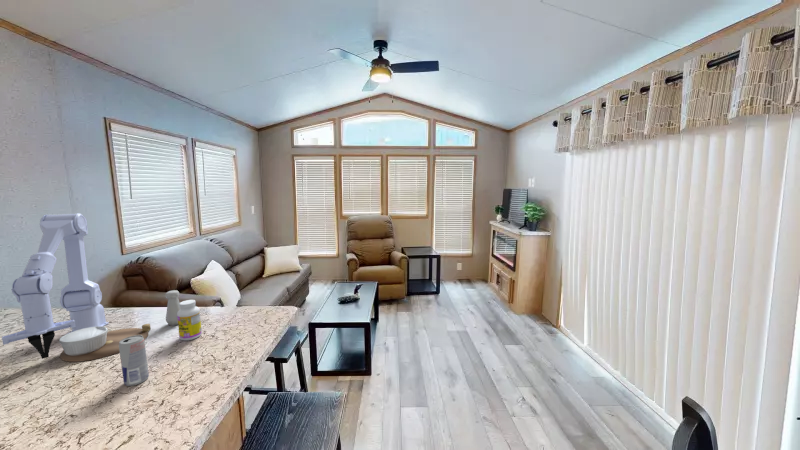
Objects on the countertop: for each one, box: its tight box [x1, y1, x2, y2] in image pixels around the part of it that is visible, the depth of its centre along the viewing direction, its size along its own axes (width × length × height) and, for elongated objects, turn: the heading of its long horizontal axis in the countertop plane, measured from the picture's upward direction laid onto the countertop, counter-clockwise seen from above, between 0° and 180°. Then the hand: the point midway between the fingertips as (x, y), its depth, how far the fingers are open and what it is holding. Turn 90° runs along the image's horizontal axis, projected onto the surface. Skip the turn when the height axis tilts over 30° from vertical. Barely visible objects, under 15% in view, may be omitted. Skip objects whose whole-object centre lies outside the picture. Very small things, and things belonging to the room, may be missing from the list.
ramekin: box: [58, 326, 109, 356], centre depth 104 cm, size 11×11×5 cm
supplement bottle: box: [177, 299, 203, 342], centre depth 112 cm, size 7×7×13 cm
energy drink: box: [119, 335, 150, 387], centre depth 87 cm, size 5×5×12 cm
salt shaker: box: [165, 289, 181, 327], centre depth 123 cm, size 6×6×13 cm
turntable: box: [59, 323, 151, 363], centre depth 108 cm, size 22×22×2 cm
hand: (45, 356), depth 97 cm, fingers closed
